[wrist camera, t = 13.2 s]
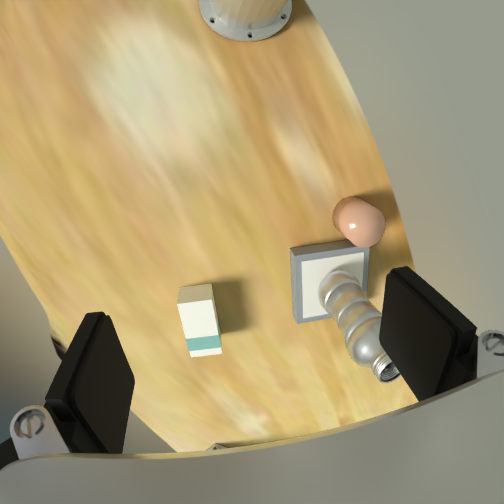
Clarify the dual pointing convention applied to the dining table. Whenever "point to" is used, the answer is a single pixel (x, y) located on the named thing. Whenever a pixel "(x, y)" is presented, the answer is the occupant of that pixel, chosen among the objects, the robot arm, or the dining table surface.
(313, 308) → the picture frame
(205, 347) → the lying carton
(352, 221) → the pink smooth rounded part
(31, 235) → the dining table surface
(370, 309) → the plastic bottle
